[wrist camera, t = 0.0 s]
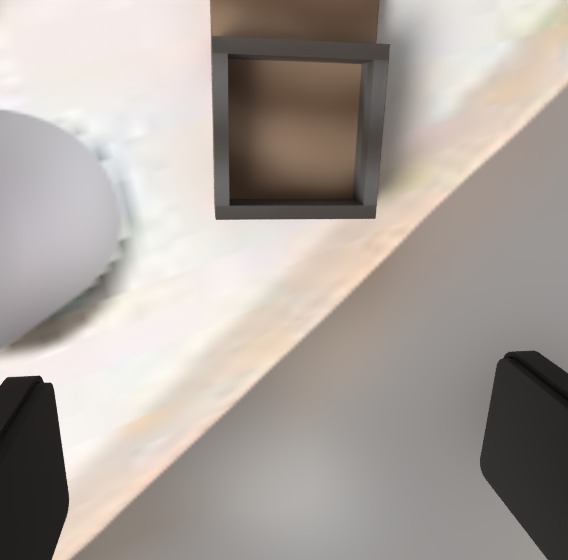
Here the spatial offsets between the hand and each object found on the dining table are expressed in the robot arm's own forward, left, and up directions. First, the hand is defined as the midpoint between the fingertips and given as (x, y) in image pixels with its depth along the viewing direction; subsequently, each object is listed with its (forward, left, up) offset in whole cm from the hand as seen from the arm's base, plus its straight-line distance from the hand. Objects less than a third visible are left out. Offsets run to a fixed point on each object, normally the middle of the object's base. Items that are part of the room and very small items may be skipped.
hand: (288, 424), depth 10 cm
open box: (-8, +5, -31) cm, 33 cm away
